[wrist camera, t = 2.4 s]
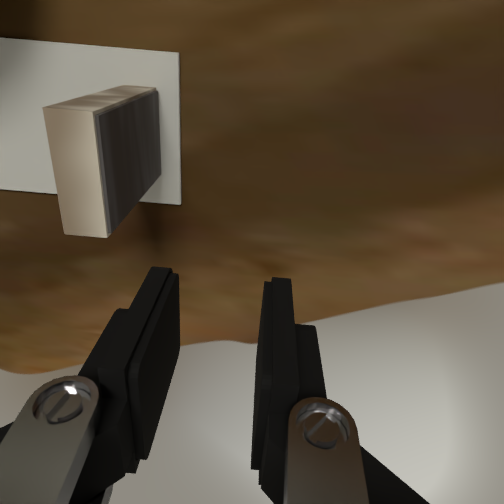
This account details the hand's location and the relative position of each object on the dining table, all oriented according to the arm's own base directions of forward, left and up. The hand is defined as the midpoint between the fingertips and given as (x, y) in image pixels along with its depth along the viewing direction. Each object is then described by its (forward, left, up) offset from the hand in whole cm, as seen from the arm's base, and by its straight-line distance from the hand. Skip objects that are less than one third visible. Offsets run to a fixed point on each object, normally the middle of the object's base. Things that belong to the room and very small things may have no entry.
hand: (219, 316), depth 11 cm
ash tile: (+9, 0, -23) cm, 24 cm away
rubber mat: (+15, 0, -23) cm, 28 cm away
